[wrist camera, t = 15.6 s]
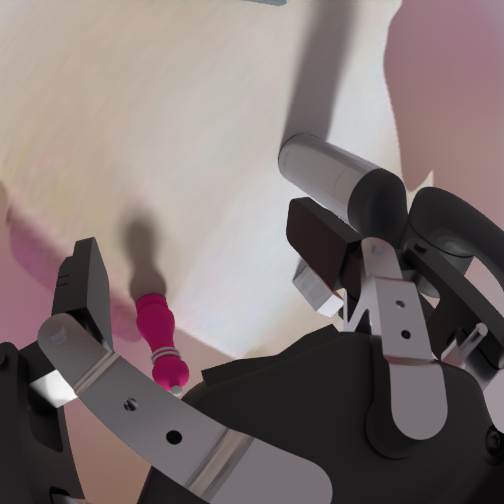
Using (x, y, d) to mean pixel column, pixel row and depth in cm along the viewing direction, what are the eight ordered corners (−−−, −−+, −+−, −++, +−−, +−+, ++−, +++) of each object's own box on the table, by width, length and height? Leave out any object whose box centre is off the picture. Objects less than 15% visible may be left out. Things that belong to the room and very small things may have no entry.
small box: (321, 275, 69) (346, 302, 62) (307, 291, 70) (330, 318, 63) (307, 264, 64) (333, 293, 56) (291, 282, 65) (315, 312, 57)
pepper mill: (140, 288, 47) (164, 383, 32) (174, 295, 51) (208, 383, 37) (129, 314, 49) (149, 405, 34) (161, 320, 53) (189, 404, 39)
